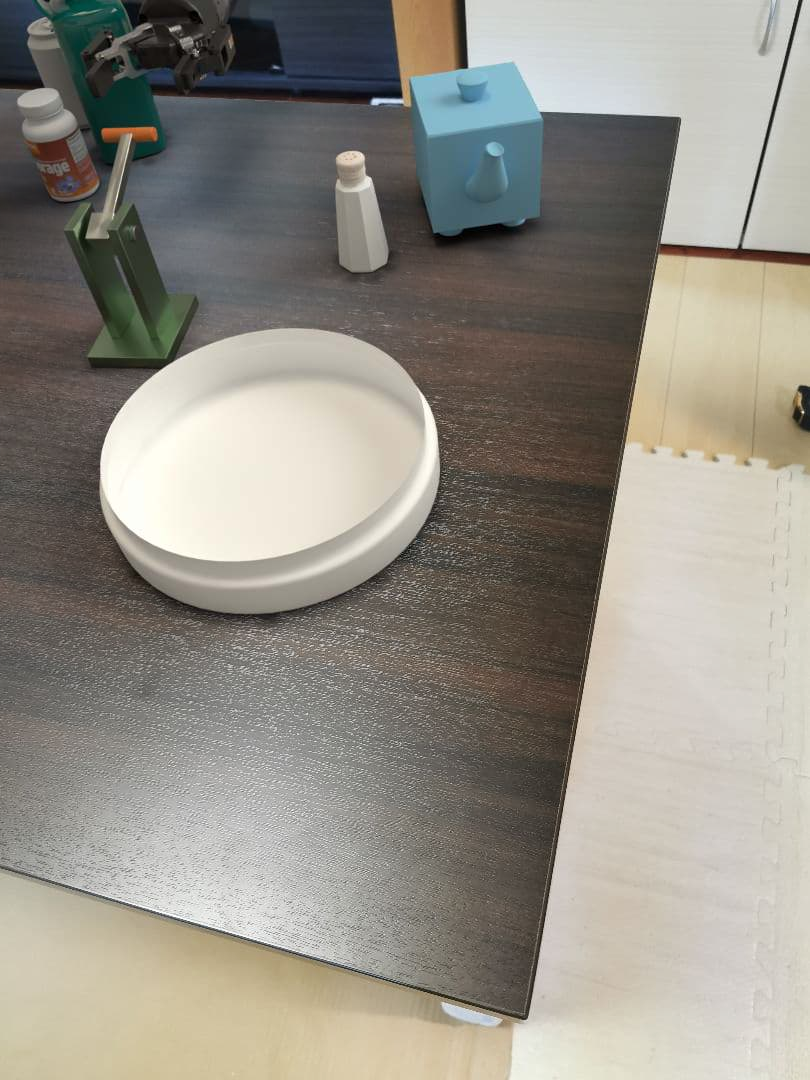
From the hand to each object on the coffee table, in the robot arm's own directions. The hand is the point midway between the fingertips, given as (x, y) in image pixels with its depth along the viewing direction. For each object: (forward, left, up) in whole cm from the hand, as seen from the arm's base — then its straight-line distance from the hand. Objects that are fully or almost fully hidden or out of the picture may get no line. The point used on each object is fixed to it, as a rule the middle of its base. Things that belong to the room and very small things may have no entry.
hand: (136, 86), depth 79 cm
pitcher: (-13, +24, -17) cm, 33 cm away
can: (-21, +33, -17) cm, 43 cm away
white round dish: (+15, -35, -17) cm, 41 cm away
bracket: (-1, -15, -17) cm, 23 cm away
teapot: (+32, +3, -17) cm, 36 cm away
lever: (-1, -9, -6) cm, 11 cm away
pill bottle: (-17, +14, -17) cm, 28 cm away
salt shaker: (+20, -4, -17) cm, 27 cm away
